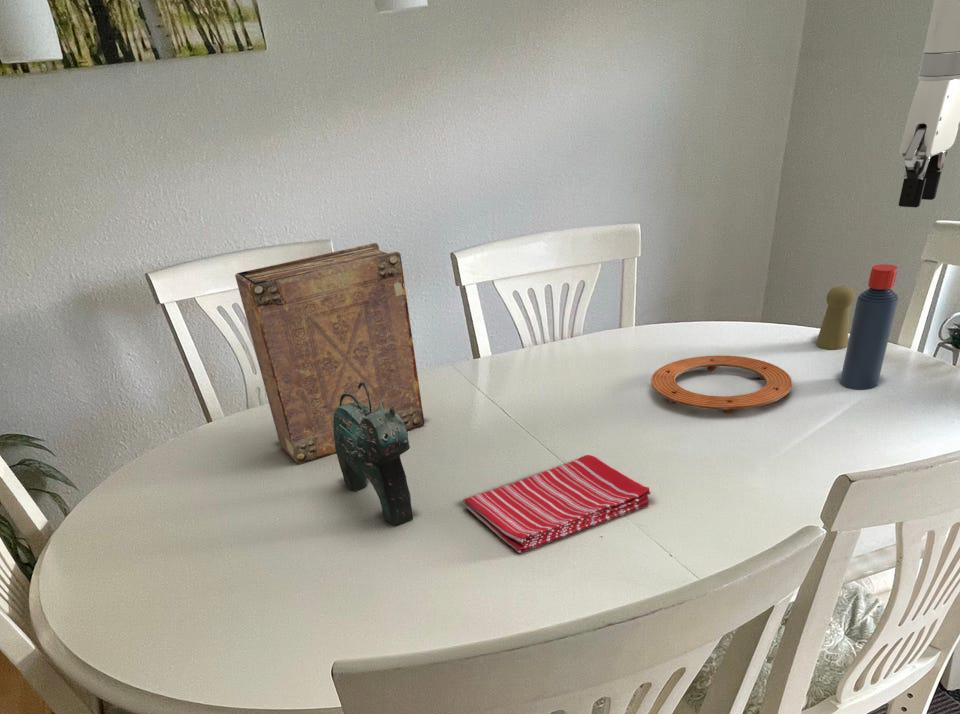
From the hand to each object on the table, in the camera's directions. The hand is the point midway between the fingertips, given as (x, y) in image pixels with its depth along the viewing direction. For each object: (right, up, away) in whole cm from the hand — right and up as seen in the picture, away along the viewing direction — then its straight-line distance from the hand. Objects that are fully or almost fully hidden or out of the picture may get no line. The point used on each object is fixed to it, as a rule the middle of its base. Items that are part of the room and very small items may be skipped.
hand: (916, 201), depth 127 cm
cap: (-3, -11, +6) cm, 13 cm away
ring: (-27, -25, +19) cm, 41 cm away
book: (-95, -34, +17) cm, 103 cm away
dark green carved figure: (-88, -51, -4) cm, 102 cm away
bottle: (-2, -24, +16) cm, 29 cm away
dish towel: (-60, -52, -9) cm, 80 cm away
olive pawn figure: (+1, -11, +32) cm, 34 cm away
